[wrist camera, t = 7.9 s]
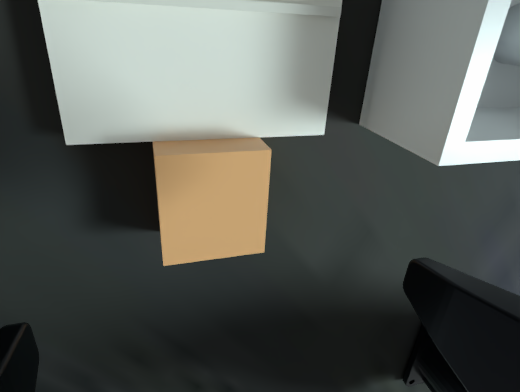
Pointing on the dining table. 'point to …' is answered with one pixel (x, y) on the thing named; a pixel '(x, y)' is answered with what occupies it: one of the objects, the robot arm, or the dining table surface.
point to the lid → (195, 100)
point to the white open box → (447, 79)
